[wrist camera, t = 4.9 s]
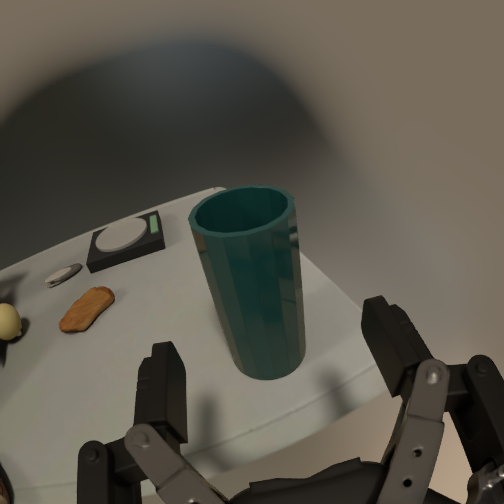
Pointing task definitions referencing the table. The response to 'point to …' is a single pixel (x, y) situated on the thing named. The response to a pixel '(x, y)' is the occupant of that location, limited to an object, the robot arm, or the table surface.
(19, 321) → the toy figure
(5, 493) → the fossil
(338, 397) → the table surface
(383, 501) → the robot arm
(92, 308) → the brown flat oblong piece
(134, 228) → the scale
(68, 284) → the table surface
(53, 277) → the grey flat oval piece
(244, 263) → the cup
